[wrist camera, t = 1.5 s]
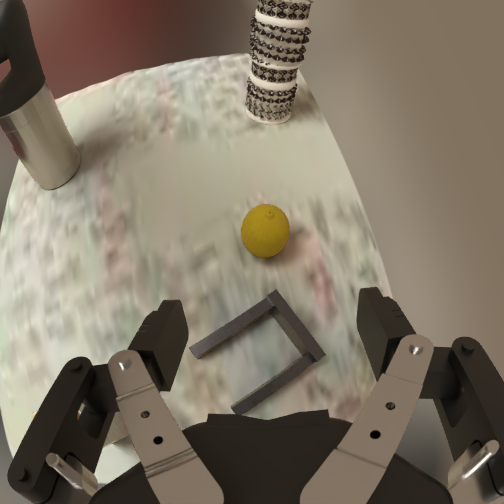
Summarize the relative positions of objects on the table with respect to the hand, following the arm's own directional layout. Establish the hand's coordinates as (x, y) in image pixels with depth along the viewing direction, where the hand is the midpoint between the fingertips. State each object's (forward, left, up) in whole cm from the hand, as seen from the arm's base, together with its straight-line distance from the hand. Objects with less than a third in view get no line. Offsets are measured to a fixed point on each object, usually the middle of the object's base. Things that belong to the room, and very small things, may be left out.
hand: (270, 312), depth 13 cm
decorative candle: (-3, +42, -21) cm, 47 cm away
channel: (+1, 0, -21) cm, 21 cm away
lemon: (0, +14, -21) cm, 25 cm away
